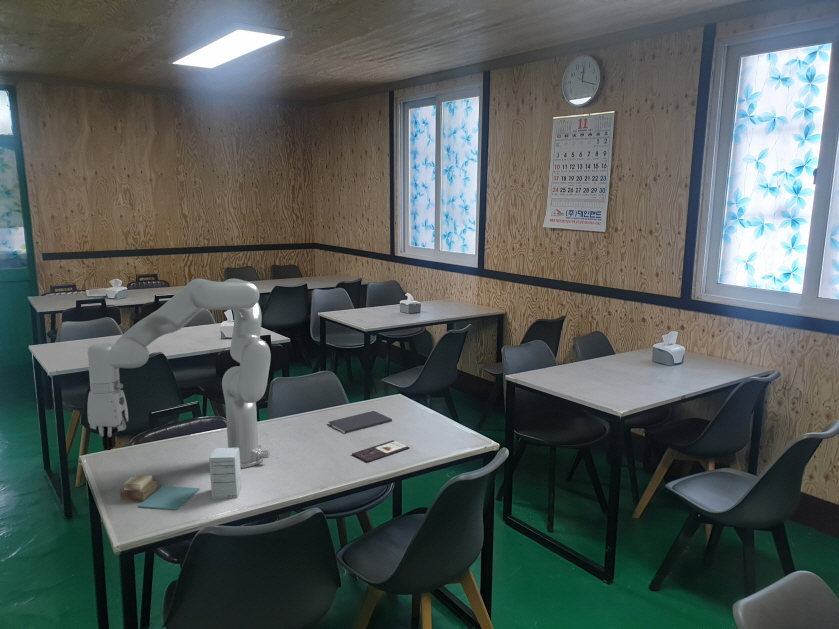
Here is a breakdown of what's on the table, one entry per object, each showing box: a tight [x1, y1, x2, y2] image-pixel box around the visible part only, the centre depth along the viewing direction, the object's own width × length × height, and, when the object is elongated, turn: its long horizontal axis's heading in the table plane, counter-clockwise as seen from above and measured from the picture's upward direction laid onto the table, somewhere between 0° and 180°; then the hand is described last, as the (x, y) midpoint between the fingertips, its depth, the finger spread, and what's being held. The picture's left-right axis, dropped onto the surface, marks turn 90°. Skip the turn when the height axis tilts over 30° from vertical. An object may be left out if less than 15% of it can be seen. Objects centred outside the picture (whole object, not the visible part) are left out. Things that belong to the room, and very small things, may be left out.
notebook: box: [328, 410, 393, 434], centre depth 244 cm, size 13×2×21 cm
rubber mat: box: [137, 485, 201, 511], centre depth 183 cm, size 12×13×1 cm
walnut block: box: [119, 480, 158, 503], centre depth 184 cm, size 7×7×3 cm
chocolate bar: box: [351, 440, 410, 464], centre depth 216 cm, size 9×1×18 cm
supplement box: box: [208, 447, 243, 500], centre depth 185 cm, size 7×7×13 cm
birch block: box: [123, 474, 153, 491], centre depth 184 cm, size 5×6×2 cm
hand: (109, 448), depth 183 cm, fingers closed
